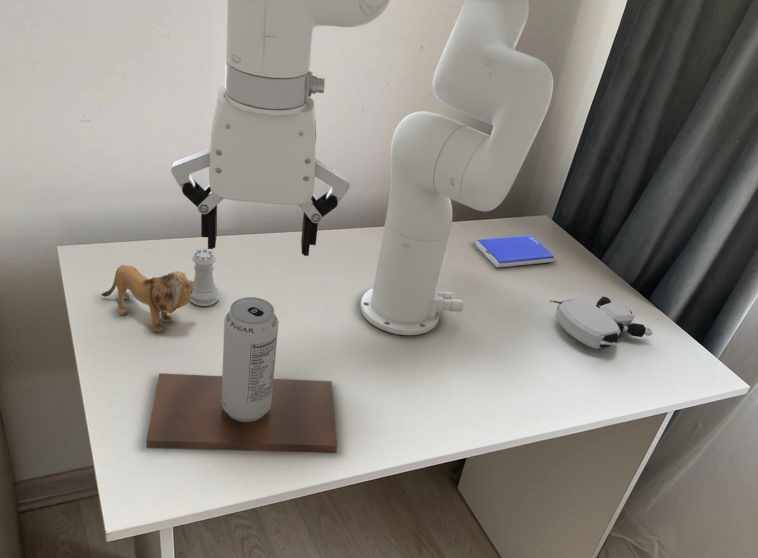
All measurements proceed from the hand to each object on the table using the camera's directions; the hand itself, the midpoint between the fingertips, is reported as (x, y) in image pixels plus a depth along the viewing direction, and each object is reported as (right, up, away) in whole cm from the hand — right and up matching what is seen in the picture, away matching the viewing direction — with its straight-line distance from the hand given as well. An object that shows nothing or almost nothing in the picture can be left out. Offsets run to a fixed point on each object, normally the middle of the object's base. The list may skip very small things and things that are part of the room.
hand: (259, 245), depth 77 cm
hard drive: (+36, +7, +61) cm, 71 cm away
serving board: (-4, -19, +14) cm, 24 cm away
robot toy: (+47, -8, +44) cm, 65 cm away
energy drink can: (-4, -18, +13) cm, 23 cm away
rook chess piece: (-15, -4, +32) cm, 35 cm away
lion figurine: (-21, -6, +27) cm, 34 cm away
